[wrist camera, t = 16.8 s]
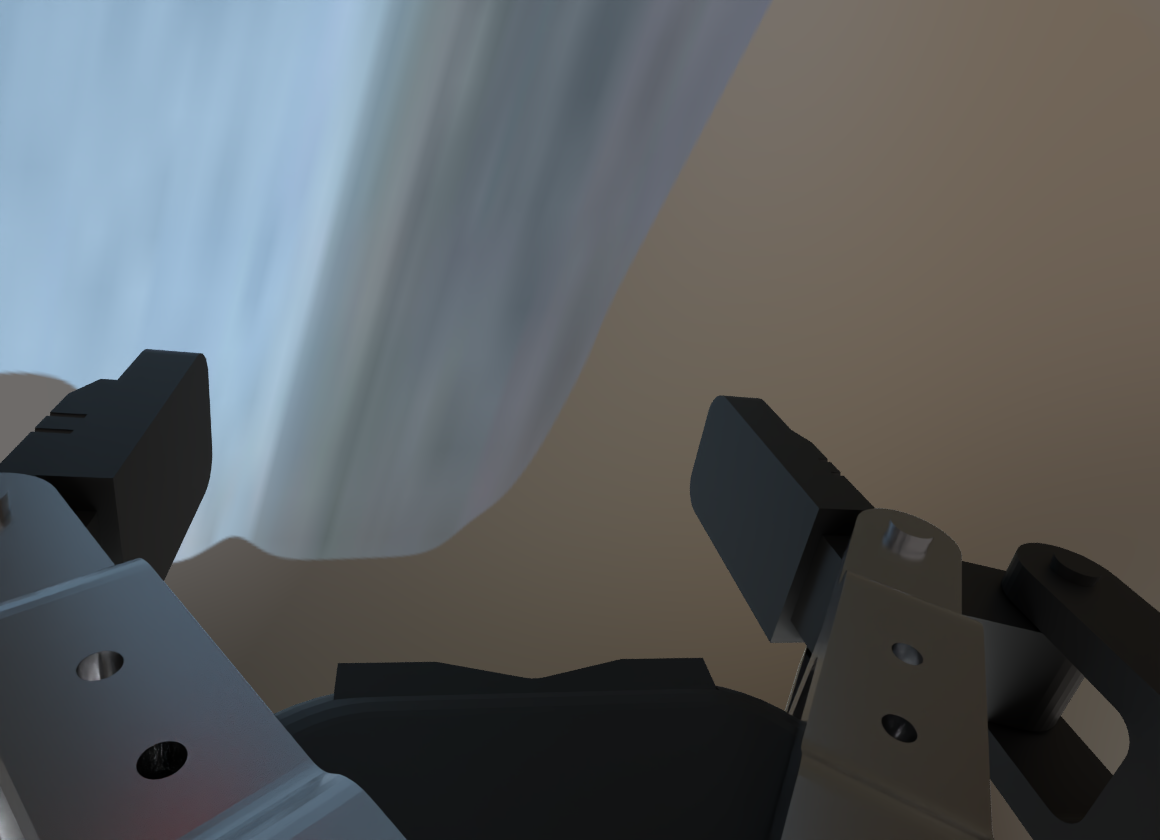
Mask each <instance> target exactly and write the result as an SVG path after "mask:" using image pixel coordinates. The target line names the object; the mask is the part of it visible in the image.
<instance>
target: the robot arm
mask: <svg viewBox="0 0 1160 840" xmlns="http://www.w3.org/2000/svg"><path fill="white" fill-rule="evenodd" d="M211 465H212V436H211V417H210V398H209V379H208V367H207V362H206V358H205V356H204V355H203V354H201V353H190V352H177V351H165V350H152V349H145V350H144V351H142V352H141V354H140V355H139V356H138V357H137V358H136V359H135V360H134V362H133V363H132V364H131V365H130V366H129V367H128V368H127V370H126V371H125V372H124V373H123V374H122V375H121V376H120V378H119V379H118V380H109V379H100V380H97V381H95V382H93V383H91V384H89V385H86V386H84V387H82V388H80V389H77V390H75V391H73V392H71V393H69V394H68V395H67V396H66V397H65V398H64V399H63V400H62V401H61V402H60V403H59V404H58V405H57V406H56V407H55V408H54V409H53V410H52V411H51V412H50V416H46V417H45V418H44V419H43V420H42V421H41V422H40V423H39V424H38V425H37V426H36V427H35V432H30V433H29V435H28V436H26V438H25V439H24V440H23V441H22V442H21V443H20V444H19V445H18V446H17V447H16V448H15V449H14V450H13V451H12V452H11V453H10V454H9V455H8V456H7V457H6V458H5V459H4V460H3V461H2V462H1V463H0V840H994V837H993V831H992V813H991V790H990V779H991V781H992V782H993V784H994V785H995V786H996V788H997V789H998V790H999V792H1000V793H1001V795H1002V796H1003V797H1004V799H1005V800H1006V802H1007V803H1008V805H1009V806H1010V807H1011V809H1012V810H1013V812H1014V813H1015V815H1016V816H1017V817H1018V819H1019V820H1020V822H1021V823H1022V825H1023V826H1024V827H1025V829H1026V830H1027V831H1028V833H1029V834H1030V836H1031V837H1032V839H1033V840H1160V612H1158V611H1157V610H1156V609H1155V608H1153V607H1152V606H1151V605H1150V604H1149V603H1147V602H1146V601H1145V600H1144V599H1142V598H1141V597H1140V596H1139V595H1138V594H1137V593H1135V592H1134V591H1132V590H1131V588H1129V587H1128V586H1127V585H1125V584H1124V583H1123V582H1122V581H1121V580H1119V579H1118V578H1117V577H1116V576H1114V575H1113V574H1112V573H1111V572H1109V571H1108V570H1107V569H1105V568H1103V567H1102V566H1100V565H1098V564H1097V563H1095V562H1093V561H1091V560H1090V559H1088V558H1086V557H1084V556H1082V555H1079V554H1077V553H1074V552H1072V551H1069V550H1066V549H1063V548H1060V547H1056V546H1053V545H1048V544H1042V543H1027V544H1023V545H1021V546H1020V547H1019V548H1018V549H1017V551H1016V553H1015V555H1014V557H1013V559H1012V561H1011V563H1010V565H1009V567H1008V569H1007V570H1006V571H1004V570H1000V569H995V568H990V567H986V566H982V565H977V564H973V563H969V562H964V561H962V555H961V551H960V549H959V547H958V545H957V544H956V543H955V541H954V540H952V538H951V537H950V536H948V535H947V534H946V533H944V532H943V531H942V530H940V529H939V528H937V527H936V526H934V525H932V524H930V523H929V522H927V521H925V520H923V519H920V518H918V517H916V516H913V515H910V514H907V513H904V512H900V511H896V510H891V509H883V508H874V507H873V506H872V505H871V504H870V503H869V501H868V500H866V498H865V497H864V496H863V495H862V494H861V493H860V492H859V491H858V490H857V489H856V488H855V487H854V486H853V485H852V484H851V483H850V482H849V481H848V480H847V479H846V478H845V477H844V476H840V471H839V470H838V469H837V468H836V467H835V466H834V465H833V464H832V463H831V462H827V458H826V457H825V456H824V455H823V454H822V453H821V452H820V451H819V450H818V449H817V448H816V446H815V445H814V444H813V443H812V442H810V441H808V440H807V439H805V438H804V437H802V436H800V435H798V434H797V433H795V432H794V431H792V430H791V429H790V428H789V427H788V426H787V425H786V424H785V423H784V422H783V421H782V420H781V419H780V418H779V416H778V415H777V414H776V413H775V412H774V411H773V410H772V409H771V408H770V407H769V406H768V405H767V404H766V403H765V402H764V401H763V400H762V399H759V398H746V397H733V396H717V397H716V398H715V399H714V400H713V402H712V404H711V406H710V409H709V412H708V415H707V419H706V423H705V427H704V431H703V434H702V438H701V441H700V445H699V449H698V452H697V457H696V460H695V463H694V467H693V471H692V475H691V481H690V497H691V503H692V507H693V509H694V511H695V513H696V515H697V517H698V518H699V520H700V522H701V524H702V525H703V527H704V529H705V531H706V532H707V534H708V536H709V537H710V539H711V541H712V543H713V544H714V546H715V548H716V549H717V551H718V553H719V555H720V557H721V558H722V560H723V562H724V563H725V565H726V567H727V569H728V570H729V572H730V574H731V576H732V577H733V579H734V581H735V582H736V584H737V586H738V588H739V589H740V591H741V593H742V594H743V596H744V598H745V600H746V602H747V603H748V605H749V607H750V608H751V610H752V612H753V613H754V615H755V617H756V619H757V620H758V622H759V624H760V626H761V628H762V629H763V631H764V632H765V634H766V636H767V638H768V640H769V641H770V643H782V642H783V643H786V642H787V643H788V642H789V643H792V642H805V644H806V645H807V647H806V649H805V652H804V655H803V657H802V659H801V662H800V664H799V667H798V671H797V674H796V677H795V680H794V683H793V687H792V690H791V693H790V696H789V700H788V703H787V706H786V709H785V711H784V710H782V709H780V708H778V707H775V706H773V705H771V704H769V703H767V702H765V701H763V700H761V699H758V698H755V697H752V696H750V695H747V694H745V693H742V692H738V691H735V690H731V689H728V688H724V687H719V686H715V684H714V682H713V680H712V677H711V675H710V673H709V671H708V669H707V666H706V664H705V662H704V660H703V658H666V659H620V660H615V661H611V662H607V663H603V664H599V665H594V666H590V667H586V668H582V669H578V670H574V671H569V672H565V673H561V674H556V675H552V676H548V677H544V678H533V679H531V678H523V677H517V676H512V675H506V674H501V673H495V672H489V671H484V670H478V669H473V668H467V667H462V666H456V665H450V664H445V663H439V662H405V663H404V662H400V663H338V668H337V676H336V682H335V690H334V694H330V695H326V696H323V697H319V698H315V699H312V700H309V701H306V702H303V703H300V704H296V705H294V706H291V707H289V708H287V709H284V710H282V711H280V712H278V713H275V714H273V713H272V712H271V710H270V709H269V708H268V707H267V706H266V704H265V703H264V702H263V701H262V700H261V698H260V697H259V696H258V695H257V694H256V692H255V691H254V690H253V689H252V688H251V686H250V685H249V684H248V683H247V681H246V680H245V679H244V678H243V677H242V676H241V674H240V673H239V672H238V671H237V669H236V668H235V667H234V666H233V664H231V662H230V661H229V660H228V658H227V657H226V656H225V655H224V654H223V652H222V651H221V650H220V649H219V648H218V646H216V644H215V643H214V642H213V640H212V639H211V638H210V637H209V636H208V634H207V633H206V632H205V631H204V629H202V627H201V626H200V625H199V624H198V622H197V621H196V620H195V619H194V617H193V616H192V615H191V614H190V613H189V611H188V610H187V609H186V608H185V607H184V606H183V604H182V603H181V602H180V600H179V599H178V598H177V597H176V596H175V595H174V593H173V592H172V591H171V589H170V588H169V587H168V586H167V585H166V583H165V582H164V580H165V578H166V576H167V573H168V571H169V569H170V567H171V565H172V563H173V561H174V558H175V556H176V554H177V552H178V550H179V548H180V546H181V543H182V541H183V539H184V537H185V535H186V533H187V531H188V528H189V526H190V524H191V522H192V520H193V518H194V516H195V514H196V511H197V509H198V507H199V505H200V503H201V501H202V499H203V496H204V494H205V492H206V490H207V487H208V483H209V479H210V473H211ZM1084 677H1085V678H1086V679H1088V681H1089V682H1090V683H1091V684H1092V685H1093V686H1094V687H1095V688H1096V689H1097V690H1098V691H1099V692H1100V693H1101V694H1102V695H1103V696H1104V697H1105V698H1106V699H1107V700H1108V701H1109V702H1110V703H1111V704H1112V705H1113V706H1114V707H1115V708H1116V710H1117V711H1118V712H1119V713H1120V715H1121V716H1122V717H1123V719H1124V722H1125V724H1126V726H1127V729H1128V733H1129V740H1130V744H1129V750H1128V754H1127V756H1126V758H1125V759H1124V761H1123V762H1122V764H1121V765H1120V766H1119V768H1118V769H1117V771H1116V772H1115V774H1114V775H1112V774H1111V773H1110V771H1109V770H1108V769H1107V768H1106V767H1105V766H1104V765H1103V764H1102V762H1101V761H1100V760H1099V759H1098V758H1097V757H1096V756H1095V754H1094V753H1093V752H1092V751H1091V750H1090V749H1089V748H1088V746H1087V745H1086V744H1085V743H1084V742H1083V741H1082V740H1081V738H1080V737H1079V736H1078V735H1077V734H1076V733H1075V732H1074V731H1073V729H1072V728H1071V727H1070V726H1069V725H1068V724H1067V723H1066V721H1065V720H1064V719H1063V718H1062V717H1061V715H1062V713H1063V711H1064V710H1065V708H1066V706H1067V705H1068V703H1069V702H1070V700H1071V698H1072V697H1073V695H1074V693H1075V692H1076V690H1077V689H1078V687H1079V685H1080V684H1081V682H1082V681H1083V679H1084Z"/></svg>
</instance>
